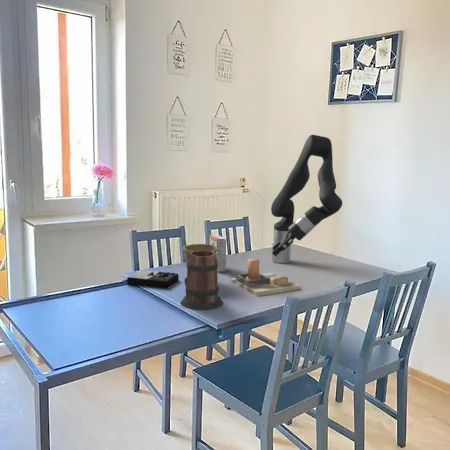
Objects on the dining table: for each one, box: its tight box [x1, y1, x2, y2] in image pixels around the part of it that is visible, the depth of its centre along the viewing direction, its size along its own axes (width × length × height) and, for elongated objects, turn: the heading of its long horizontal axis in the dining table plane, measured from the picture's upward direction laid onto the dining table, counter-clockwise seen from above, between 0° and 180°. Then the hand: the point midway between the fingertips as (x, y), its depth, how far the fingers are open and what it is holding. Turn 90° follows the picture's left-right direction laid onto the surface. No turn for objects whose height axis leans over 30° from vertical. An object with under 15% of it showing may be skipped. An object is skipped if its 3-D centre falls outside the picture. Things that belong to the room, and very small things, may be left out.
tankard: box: [180, 251, 224, 311], centre depth 184 cm, size 24×17×20 cm
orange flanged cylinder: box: [246, 258, 260, 281], centre depth 204 cm, size 6×6×10 cm
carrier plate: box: [230, 272, 301, 297], centre depth 206 cm, size 22×22×4 cm
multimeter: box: [126, 269, 180, 290], centre depth 207 cm, size 13×19×5 cm
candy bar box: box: [208, 234, 227, 273], centre depth 229 cm, size 11×5×16 cm, turn 22°
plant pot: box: [182, 243, 217, 267], centre depth 207 cm, size 15×15×16 cm
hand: (273, 252), depth 202 cm, fingers open, 8 cm apart
